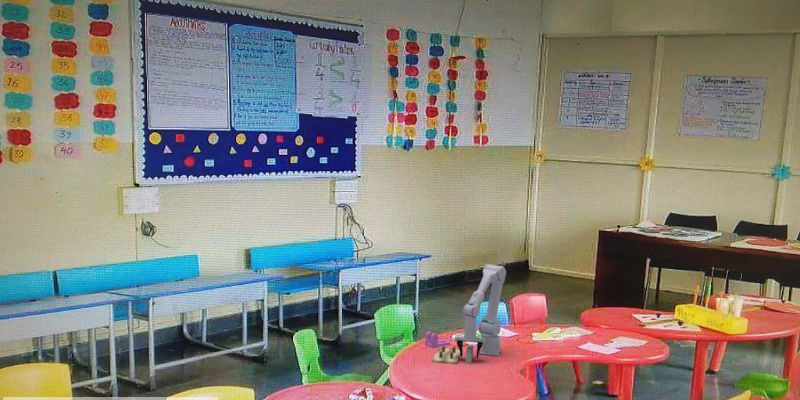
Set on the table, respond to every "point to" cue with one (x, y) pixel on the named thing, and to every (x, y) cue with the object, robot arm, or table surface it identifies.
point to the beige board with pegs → (447, 355)
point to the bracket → (435, 340)
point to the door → (469, 353)
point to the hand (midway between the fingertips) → (469, 356)
